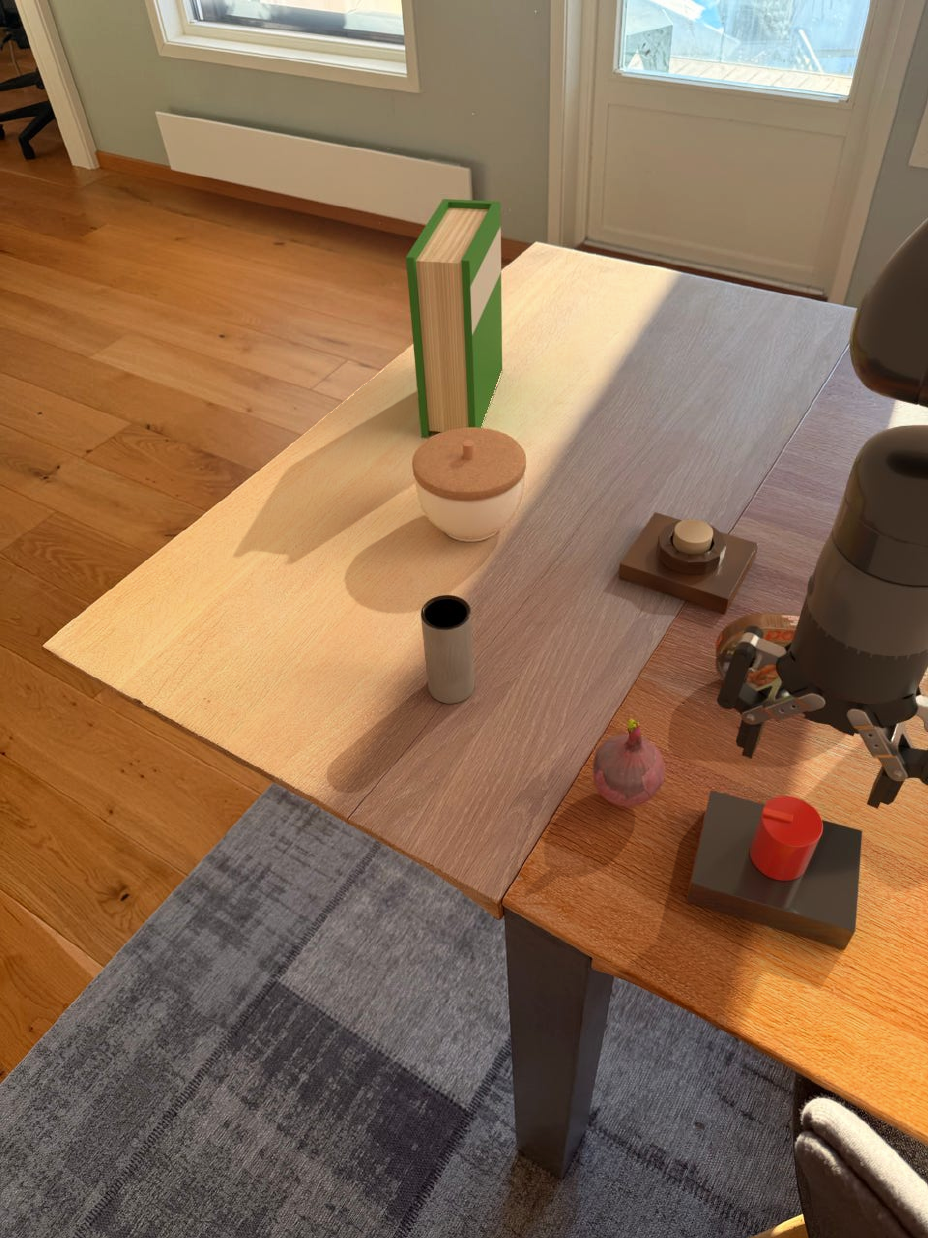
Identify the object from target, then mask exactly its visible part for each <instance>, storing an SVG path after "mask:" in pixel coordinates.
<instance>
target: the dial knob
mask: <svg viewBox="0 0 928 1238" xmlns="http://www.w3.org/2000/svg"><path fill="white" fill-rule="evenodd" d="M822 820H823V819H822V817H821V815H820V813H819V812H818V811H817V809H815V807H814V806H813V805H812V804H810V803H809V802H807V801H806V800H804V799H802V798H798V797H795V796H791V795H782V796H777V797H774V798H771V799H770V800H768V801H767V802H766V803H765V806H764V808H763V810H762V813H761V816H760V819H759V821H758V824H757V827H756V830H755V833H754V836H753V839H752V842H751V845H750V856H751V859H752V861H753V863H754V865H755V866H756V867H757V869H758V870H759V871H761V872H762V873H763V874H764V875H766V876H768V877H770V878H772V879H775V880H780V881H790V880H794V879H797V878H798V877H800V876H801V875H803V873H804V872H805V871H806V869H807V867H808V864H809V862H810V860H811V858H812V855H813V853H814V851H815V849H816V846H817V844H818V842H819V840H820V837H821V835H822V832H823V823H822Z"/></svg>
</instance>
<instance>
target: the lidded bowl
mask: <svg viewBox="0 0 928 1238" xmlns="http://www.w3.org/2000/svg"><path fill="white" fill-rule="evenodd" d="M526 457H527V456H526V453H525V449H524V448H523V447H522V445H521V444H520V443H519V442H518V441H517V440H515V438H513V437H512V436H510V435H508V434H506V433H504V432H501V431H499V430H495V429H492V428H488V427H487V428H485V427H482V428H477V427H465V428H457V429H452V430H448V431H444V432H438V433H436V434H434V435H432V436H430V437H428V438H427V439H426V440H424V441H423V442H422V443H421V444H420V445H419V446H418V447H417V449H416V450H415V451H414V454H413V456H412V460H411V466H412V473H413V476H414V482H415V488H416V489H415V490H416V494H417V499H418V501H419V503H420V506H421V508H422V511H423V513H424V514H425V516H426V518H427V519H428V520H429V521H430V522H431V524H433V525H434V527H436V528H437V529H438V530H440V531H441V532H443V533H445V534H446V535H447V536H448V537H450V538H452V539H454V540H456V541H459V542H466V543H475V542H481V541H484V540H488V539H490V538H492V537H493V536H495V535H496V534H497V533H498V532H500V530H502V529H503V528H504V527H506V526H507V525H508V524H509V523H510V521H511V520H512V519H513V517H515V515H516V513H517V512H518V509H519V507H520V504H521V500H522V498H523V493H524V487H525V472H526V469H527V468H526V467H527V458H526Z"/></svg>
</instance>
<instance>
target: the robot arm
mask: <svg viewBox="0 0 928 1238" xmlns="http://www.w3.org/2000/svg"><path fill="white" fill-rule="evenodd" d="M848 343H849V346H848V347H849V348H848V349H849V350H848V351H849V356H850V361H851V365H852V368H853V370H854V373H855V376H857V378H858V380H859V381H860V382H861V384H862V385H863V386H864V387H865V388H867V389H868V390H870V391H871V392H873V393H875V394H878V395H880V396H882V397H885V398H888V399H891V400H894V401H895V400H896V401H899V402H903V403H905V404H909V405H914V406H920V407H922V408H927V409H928V217H927V218H926V219H925V220H924V221H923V222H922V223H921V224H920V225H919V226H917V228H915V230H914V231H913V232H911V234H910V235H909V236H908V237H907V238H906V239H904V241H903V242H902V243H901V244H900V245H899V246H898V248H897V249H896V250H895V251H894V252H893V254H892V255H891V256H890V257H889V258H888V259H887V260H886V262H884V264H883V265H882V267H881V268H880V269H879V271H878V272H877V273H876V274H875V276H874V278H873V279H872V281H871V282H870V284H869V285H868V286H867V287H866V290H865V292H864V294H863V296H862V297H861V299H860V301H859V303H858V306H857V308H856V311H855V313H854V316H853V319H852V322H851V326H850V331H849V341H848ZM806 589H807V590H806V595H805V598H804V602H803V605H802V608H801V611H800V613H799V615H800V617H799V620H798V624H797V627H796V630H795V633H794V636H793V639H792V642H791V643H789V644H788V645H786V646H785V647H782V646H779V645H777V644H774V643H772V642H769V641H767V640H764V639H762V638H763V635H764V634H763V631H762V630H761V629H760V628H759V627H757V626H748V627H746V629H745V631H744V633H743V635H742V637H741V639H740V641H739V643H738V645H737V647H736V649H735V651H734V653H733V655H732V658H731V661H730V664H729V667H728V670H727V673H726V675H725V678H724V681H723V680H722V684H721V686H720V689H719V693H718V696H717V699H716V703H717V705H718V706H719V707H720V708H723V709H725V710H732V709H734V710H735V711H736V712H738V713H739V714H740V716H741V721H740V724H739V727H738V731H737V735H736V739H735V742H736V747H739V748H742V749H743V750H742V753H741V756H743V757H746V758H748V759H750V760H752V759H753V757H754V755H755V752H756V751H757V748H758V745H759V743H760V742H761V741H760V740H761V738H762V735H763V731H764V729H765V725H766V722H767V721H770V720H773V719H774V720H775V721H776V722H779V721H782V720H785V719H787V718H790V717H793V716H796V715H799V714H803V715H804V718H803V719H804V720H808V721H810V722H813V723H816V724H821V725H826V726H830V727H832V728H833V729H835V730H837V731H839V732H840V733H843V734H845V735H848V736H851V737H854V736H855V735H860V738H861V740H862V741H863V743H864V745H865V746H866V749H867V750H868V752H869V754H870V755H871V757H872V758H876V759H878V760H879V762H880V764H881V766H880V768H879V771H878V773H877V774H876V776H875V779H874V781H873V783H872V786H871V788H870V792H869V795H868V799H867V802H866V805H867V806H869V807H872V808H874V809H877V810H878V809H879V807H880V805H881V804H883V805H886V806H889V805H891V804H893V803H894V802H895V800H896V798H897V796H898V794H899V792H900V790H901V789H902V787H903V784H904V782H905V781H906V780H909V779H919V781H920V782H921V783H922V784H923V785H925V786H928V749H922V748H916V747H915V745H914V743H913V742H912V740H911V737H910V736H909V734H908V732H907V730H906V728H905V722H907V721H909V720H911V719H913V718H914V717H915V716H916V717H919V719H920V720H921V721H922V722H923V729H924V730H925V732H927V733H928V696H926V695H922V691H921V689H920V684H921V683H922V680H923V678H924V676H925V674H926V672H927V671H928V424H910V425H909V424H908V425H899V426H894V427H891V428H887V429H883V430H881V431H879V432H877V433H876V434H874V435H873V436H871V437H870V438H869V439H867V440H866V441H865V443H864V444H863V445H862V447H861V448H860V449H859V452H858V453H857V455H856V457H855V459H854V462H853V464H852V467H851V470H850V472H849V475H848V478H847V482H846V485H845V489H844V492H843V495H842V498H841V501H840V504H839V507H838V510H837V514H836V517H835V520H834V523H833V526H832V528H831V530H830V533H829V536H828V538H826V540H825V543H824V545H823V547H822V548H821V551H820V553H819V555H818V557H817V560H816V563H815V566H814V570H813V572H812V574H811V576H809V579H808V582H807V588H806ZM770 664H771V665H775V666H776V672H777V674H778V677H777V678H776V679H775V680H774V681H772V682H770V683H768V684H765V685H763V686H760V687H758V688H755V689H753V688H751V687H750V686H748V685H747V684H745V683H746V680H747V678H748V675H749V673H751V674H753V673H755V671H759V670H762V669H763V668H764V666H766V665H770Z"/></svg>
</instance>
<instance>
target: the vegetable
mask: <svg viewBox="0 0 928 1238" xmlns="http://www.w3.org/2000/svg"><path fill="white" fill-rule="evenodd" d="M627 724H628V727H627V732H628V733H622V734H620V733H619V734H616V735H613V736H610V737H608V738H607V739H605V740H604V741H603V742H602V743H601V744H600V745H599V746H598V747H597V748H596V751H595V753H594V756H593V760H592V777H593V782H594V784H595V787H596V789H597V792H598V793H599V794H600V795H601V796H602V797H603V798H604V800H606V801H608V802H610V803H611V804H613V805H617V806H619V807H627V808H628V807H629V808H631V807H637V806H640V805H644V804H645V803H647V802H649V801H650V800H652V799H653V798H654V797H655V796H656V795H657V793H658V792H659V791H660V789H661V788H662V787H663V784H664V781H665V778H666V765H665V761H664V759H663V755H662V753H661V751H660V750H659V748H658V747H657V746H656V745H655V744H654V742H652V741H650V740H649V739H647V738H646V737H643V736H642V731H641V726H640V722H639V721H637V722H636V720H634V719H633V718H629V719H628V721H627Z"/></svg>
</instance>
